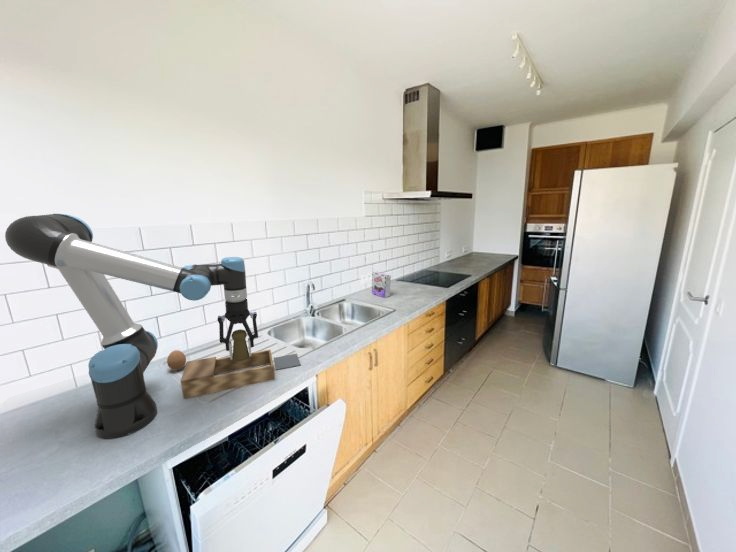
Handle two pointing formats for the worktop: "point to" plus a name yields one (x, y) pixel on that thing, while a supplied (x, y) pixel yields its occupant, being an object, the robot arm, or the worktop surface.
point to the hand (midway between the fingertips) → (240, 356)
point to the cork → (240, 345)
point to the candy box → (381, 284)
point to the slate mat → (286, 361)
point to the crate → (203, 381)
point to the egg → (176, 360)
